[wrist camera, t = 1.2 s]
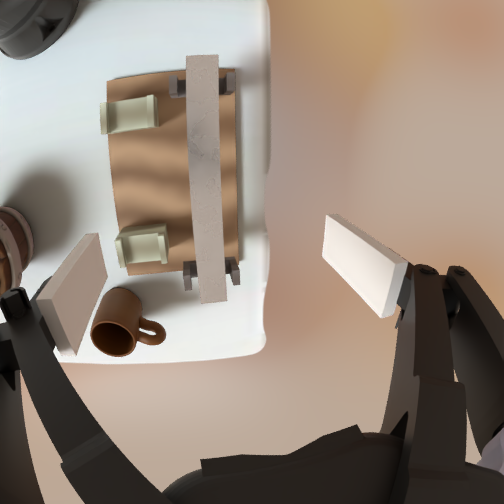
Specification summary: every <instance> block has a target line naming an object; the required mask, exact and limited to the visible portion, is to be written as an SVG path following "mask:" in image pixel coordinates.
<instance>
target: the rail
mask: <svg viewBox="0 0 504 504" xmlns="http://www.w3.org/2000/svg"><path fill="white" fill-rule="evenodd" d="M186 114H187V144H188V165H189V182H190V197H191V210H192V222H193V234H194V244H195V254H196V264H197V273H198V282H199V290H200V298H201V304H205V303H214V302H223V301H227V291H226V275H225V258H224V240H223V220H222V198H221V172H220V138H219V73H218V55H195V56H186Z"/></svg>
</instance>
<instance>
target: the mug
mask: <svg viewBox="0 0 504 504" xmlns="http://www.w3.org/2000/svg"><path fill="white" fill-rule="evenodd" d="M139 328H141V329H144V330H148V331H153V332H155V333H156V335H149V334H147V333H144V332H141V331H139ZM90 336H91V340H92V342H93V344H94V345H95V346H96V347H97V348H98V349H99V350H100V351H101V352H103V353H105V354H107V355H110V356H114V357H123V356H126V355H129V354H130V353H132V352H133V350H134V349H135V347H136V343H137V341H139V342H142V343H144V344H147V345H159V344H161V343H162V342H163V341H164V340H165V338H166V332H165V329H164V328H163V326H162V325H160V324H159V323H157V322H155V321H150V320H147V319H145V318H143V317H142V305H141V302H140V300H139V299H138V297H137V296H136V295H135V294H134V293H132V292H131V291H129V290H127V289H123V288H115V289H111V290H109V291H108V292H107V293H106V294H105V295H104V296H103V298H102V300H101V303H100V305H99V307H98V310H97V312H96V315H95V317H94V320H93V323H92V327H91V331H90Z"/></svg>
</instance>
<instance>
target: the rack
mask: <svg viewBox="0 0 504 504" xmlns="http://www.w3.org/2000/svg"><path fill="white" fill-rule="evenodd" d="M218 73H219V138H220V172H221V198H222V220H223V240H224V258H225V274H230V276H231V279H232V282H233V285H240V270H239V267H238V265H239V252H238V219H237V181H236V132H235V69H218ZM100 123H101V134H108V143H109V156H110V167H111V176H112V185H113V193H114V201H115V207H116V214H117V220H118V226H119V232H120V233H119V235H118V236H117V238H116V240H115V245H116V250H117V255H118V260H119V264H120V268H125V267H127V272H128V276H131V275H142V274H152V273H162V272H172V271H183V279H184V286H185V291H186V290H192V283H191V278H193V277H198V273H197V264H196V254H195V244H194V234H193V222H192V210H191V197H190V182H189V165H188V144H187V114H186V70H184V71H172V72H163V73H154V74H146V75H139V76H133V77H127V78H121V79H116V80H111V81H107V102H105V103H100Z"/></svg>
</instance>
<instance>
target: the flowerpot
mask: <svg viewBox="0 0 504 504" xmlns="http://www.w3.org/2000/svg"><path fill="white" fill-rule="evenodd" d="M33 248H34V243H33V235H32V233H31V229H30V226H29V224H28V223H27V221H26V220H25V218H24V217H23V216H22V215H21V214H20V213H19V212H18V211H16V210H15V209H13V208H10V207H0V296H1V295H2V294H3V293H5V292H6V291H8V290H9V289H12V288H15V287H19V286H20V283H21V279H22V272H23V271H24V270H25V269H26V268H27V266H28V264H29V262H30V260H31V258H32V255H33V253H34V251H33Z"/></svg>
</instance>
